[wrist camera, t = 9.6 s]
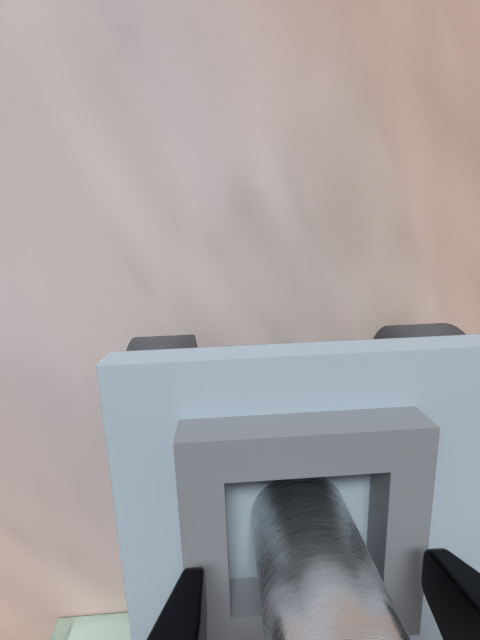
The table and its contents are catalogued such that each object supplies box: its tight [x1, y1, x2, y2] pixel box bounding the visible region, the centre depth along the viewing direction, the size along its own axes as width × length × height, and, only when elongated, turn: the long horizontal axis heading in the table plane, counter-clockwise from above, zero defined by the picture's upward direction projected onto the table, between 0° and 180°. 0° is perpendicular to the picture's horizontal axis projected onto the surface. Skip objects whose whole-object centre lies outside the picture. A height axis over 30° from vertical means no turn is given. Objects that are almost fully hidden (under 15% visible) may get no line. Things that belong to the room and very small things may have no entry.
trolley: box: [96, 323, 480, 640], centre depth 11 cm, size 9×10×6 cm
